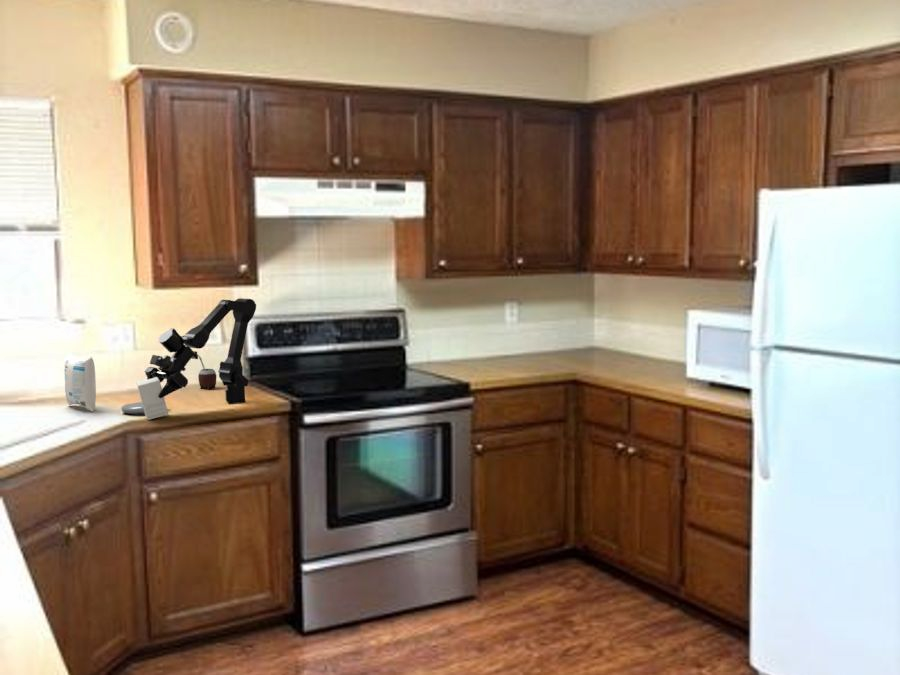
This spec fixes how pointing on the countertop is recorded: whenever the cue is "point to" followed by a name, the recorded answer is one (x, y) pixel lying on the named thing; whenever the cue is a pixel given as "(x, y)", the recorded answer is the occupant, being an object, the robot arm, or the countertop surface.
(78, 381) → the pouch
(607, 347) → the countertop surface
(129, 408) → the dish
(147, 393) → the supplement box
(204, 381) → the mate gourd
